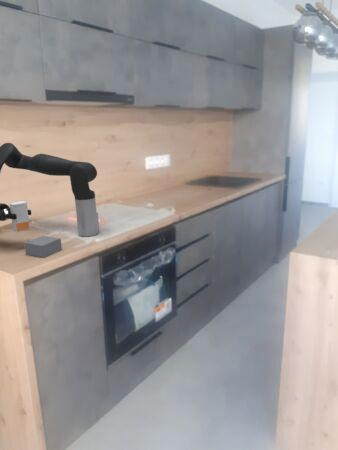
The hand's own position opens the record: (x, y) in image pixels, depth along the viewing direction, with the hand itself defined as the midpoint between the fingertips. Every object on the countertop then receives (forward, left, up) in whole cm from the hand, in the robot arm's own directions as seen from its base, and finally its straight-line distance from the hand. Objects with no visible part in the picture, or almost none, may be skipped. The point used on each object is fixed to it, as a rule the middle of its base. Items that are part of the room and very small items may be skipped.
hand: (23, 214), depth 152 cm
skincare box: (0, -2, -7) cm, 8 cm away
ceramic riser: (+1, +10, -15) cm, 18 cm away
